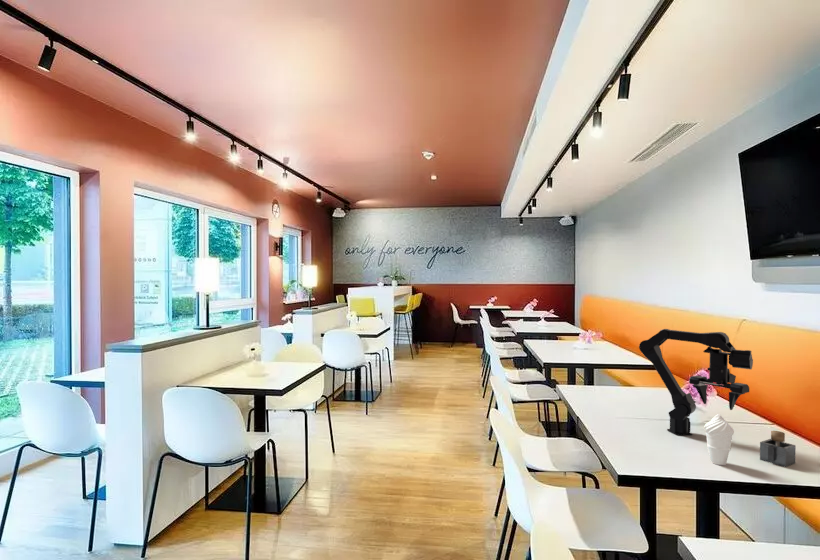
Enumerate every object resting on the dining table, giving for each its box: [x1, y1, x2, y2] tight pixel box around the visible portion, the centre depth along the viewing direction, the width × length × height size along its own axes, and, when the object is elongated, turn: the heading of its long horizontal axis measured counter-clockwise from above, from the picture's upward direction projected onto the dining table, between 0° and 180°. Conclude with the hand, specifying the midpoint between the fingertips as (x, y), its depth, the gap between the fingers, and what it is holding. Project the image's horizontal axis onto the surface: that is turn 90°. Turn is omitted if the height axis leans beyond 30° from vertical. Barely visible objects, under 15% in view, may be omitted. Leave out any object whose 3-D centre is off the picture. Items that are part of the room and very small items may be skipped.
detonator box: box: [759, 438, 797, 468], centre depth 156 cm, size 7×8×6 cm
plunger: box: [770, 430, 786, 447], centre depth 156 cm, size 5×5×8 cm
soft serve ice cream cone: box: [703, 413, 735, 466], centre depth 154 cm, size 8×8×16 cm
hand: (717, 406), depth 176 cm, fingers open, 9 cm apart
